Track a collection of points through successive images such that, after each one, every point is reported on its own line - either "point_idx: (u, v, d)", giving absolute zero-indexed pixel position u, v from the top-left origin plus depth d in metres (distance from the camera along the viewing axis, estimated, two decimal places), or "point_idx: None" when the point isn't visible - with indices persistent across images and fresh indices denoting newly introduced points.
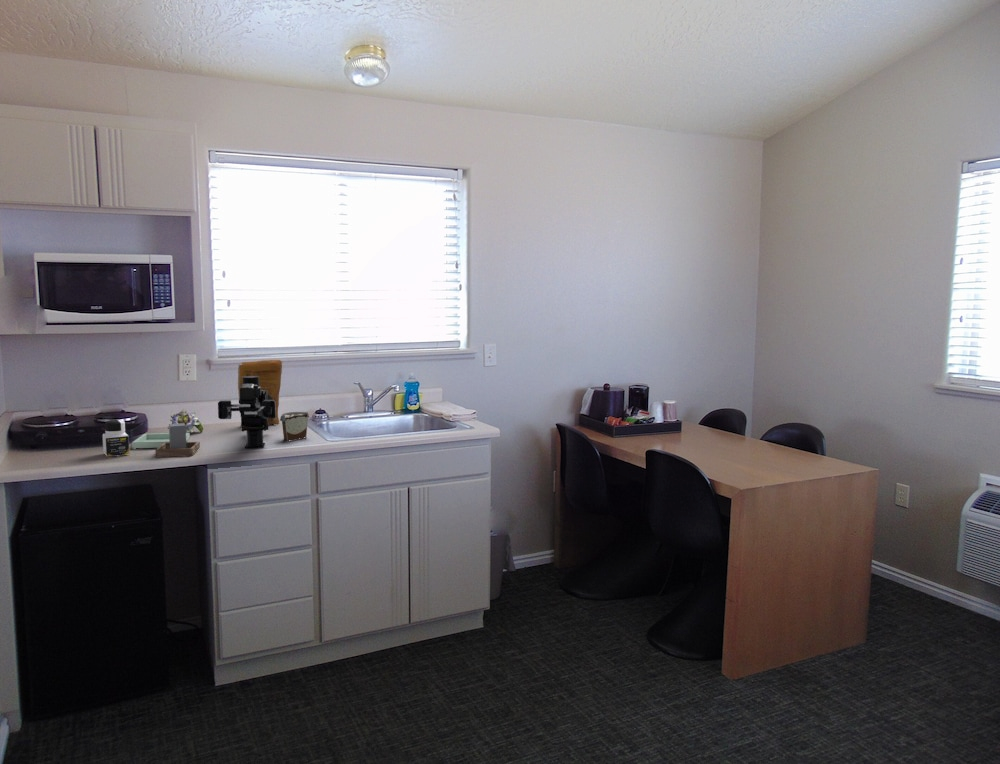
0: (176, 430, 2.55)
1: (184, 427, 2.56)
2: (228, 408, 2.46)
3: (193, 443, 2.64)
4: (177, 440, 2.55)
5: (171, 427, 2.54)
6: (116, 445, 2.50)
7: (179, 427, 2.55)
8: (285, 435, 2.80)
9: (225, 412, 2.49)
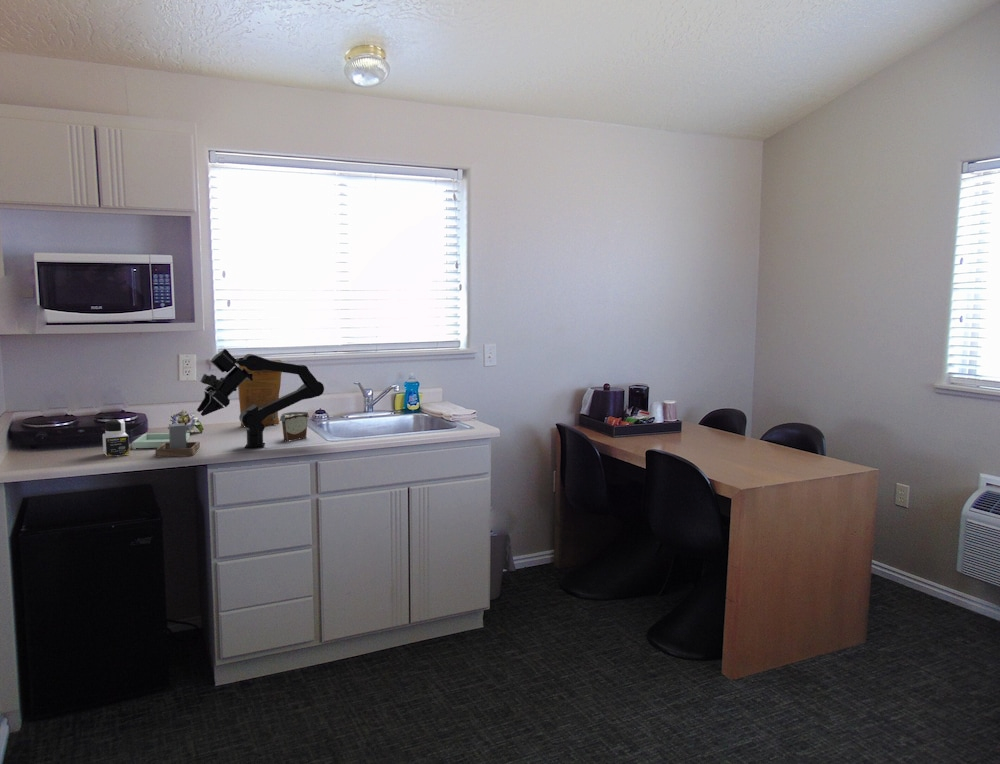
0: (176, 430, 2.55)
1: (184, 427, 2.56)
2: (202, 401, 2.64)
3: (193, 443, 2.64)
4: (177, 440, 2.55)
5: (171, 427, 2.54)
6: (116, 445, 2.50)
7: (179, 427, 2.55)
8: (285, 435, 2.80)
9: None
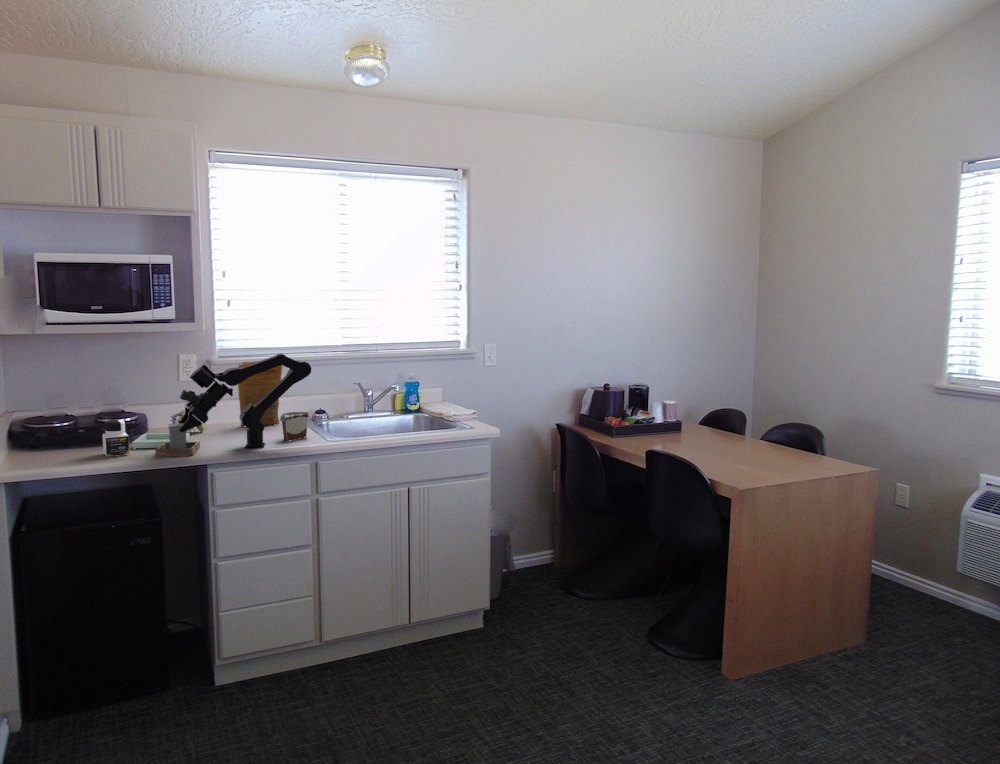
0: (176, 430, 2.55)
1: None
2: (182, 417, 2.62)
3: (193, 443, 2.64)
4: (177, 440, 2.55)
5: (171, 427, 2.54)
6: (116, 445, 2.50)
7: (179, 427, 2.55)
8: (285, 435, 2.80)
9: None
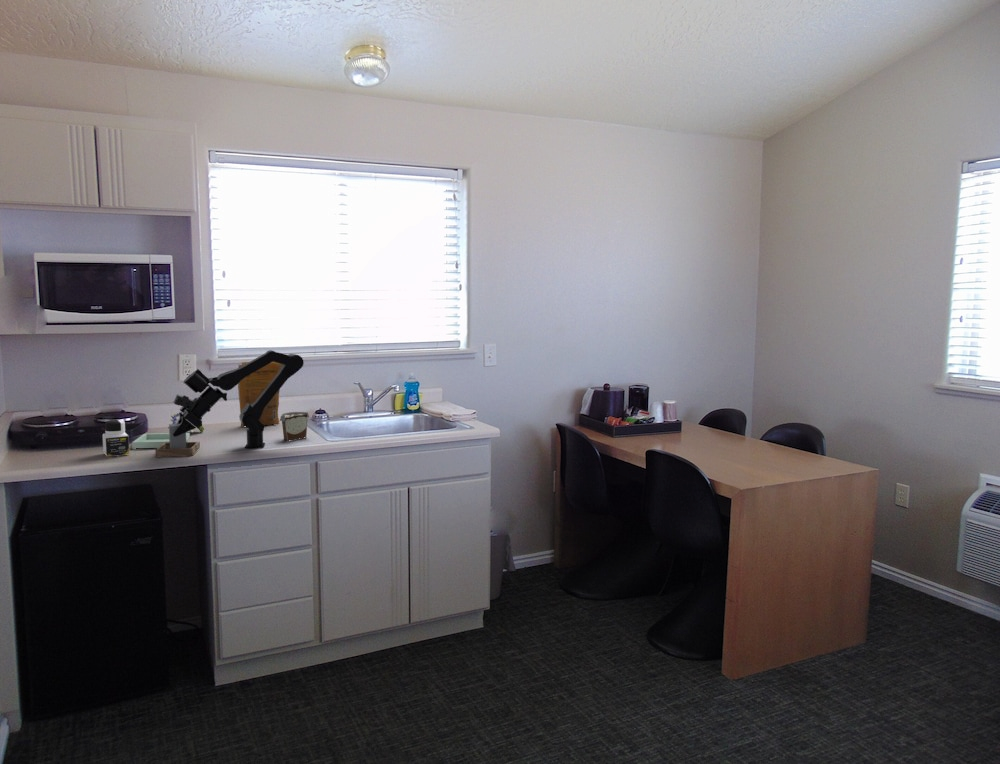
0: None
1: None
2: (177, 423, 2.60)
3: (193, 443, 2.64)
4: (177, 440, 2.55)
5: (171, 427, 2.54)
6: (116, 445, 2.50)
7: None
8: (285, 435, 2.80)
9: None
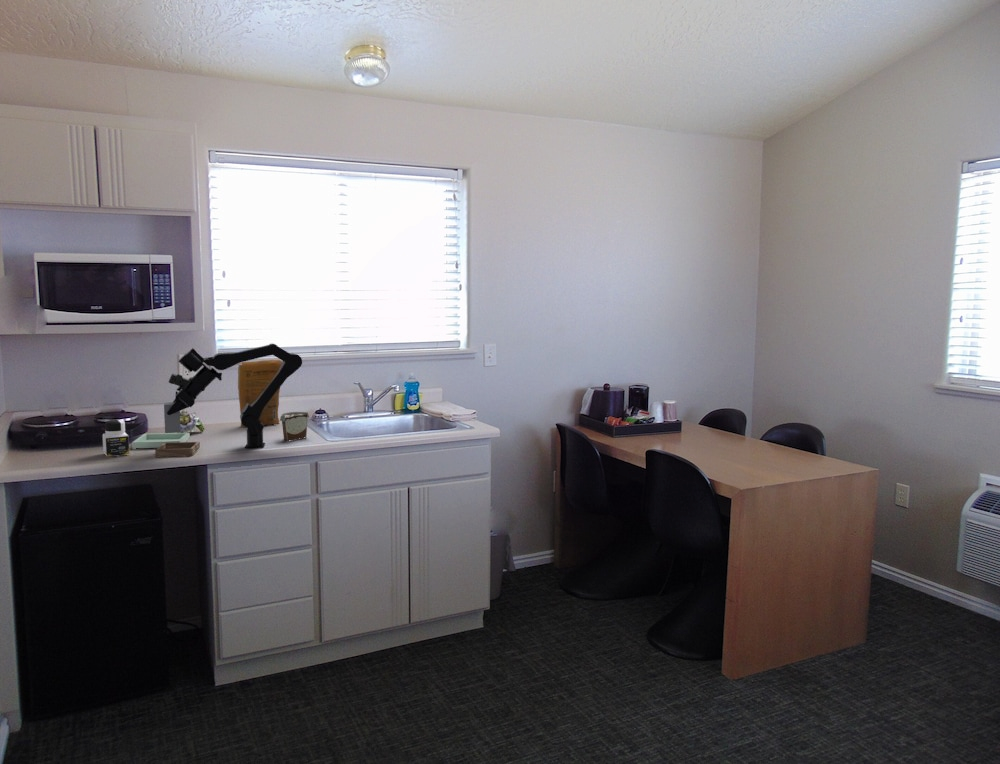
0: None
1: None
2: None
3: (193, 443, 2.64)
4: (171, 419, 2.56)
5: (165, 405, 2.54)
6: (116, 445, 2.50)
7: None
8: (285, 435, 2.80)
9: None
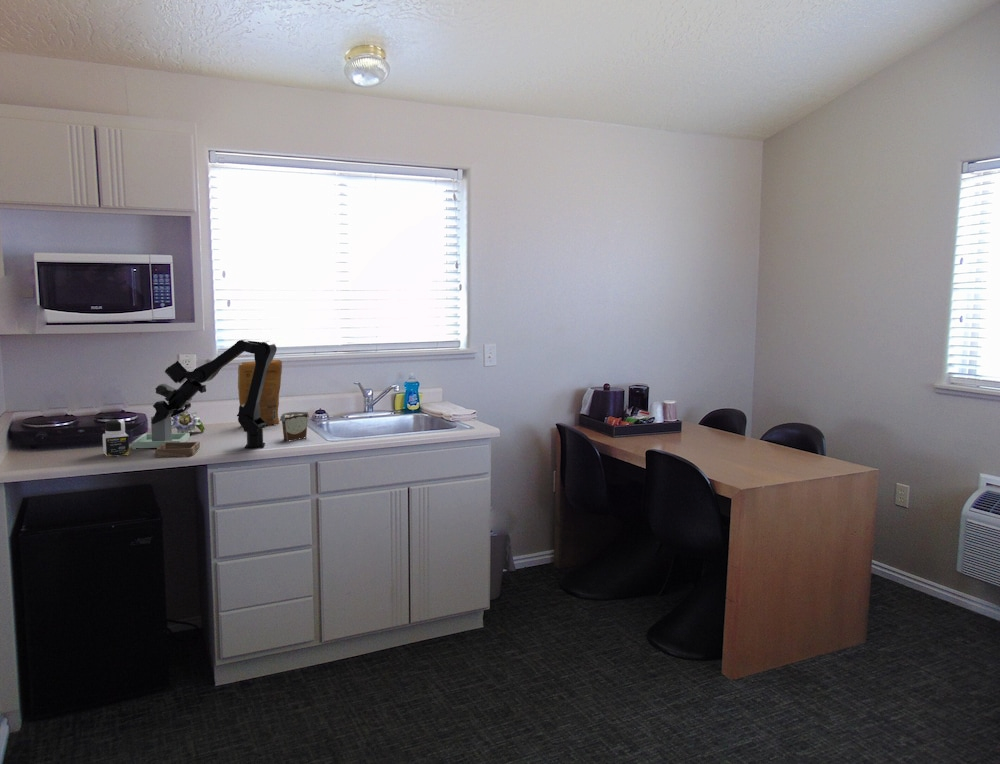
0: None
1: None
2: None
3: (193, 443, 2.64)
4: (157, 430, 2.68)
5: (152, 418, 2.68)
6: (116, 445, 2.50)
7: None
8: (285, 435, 2.80)
9: None
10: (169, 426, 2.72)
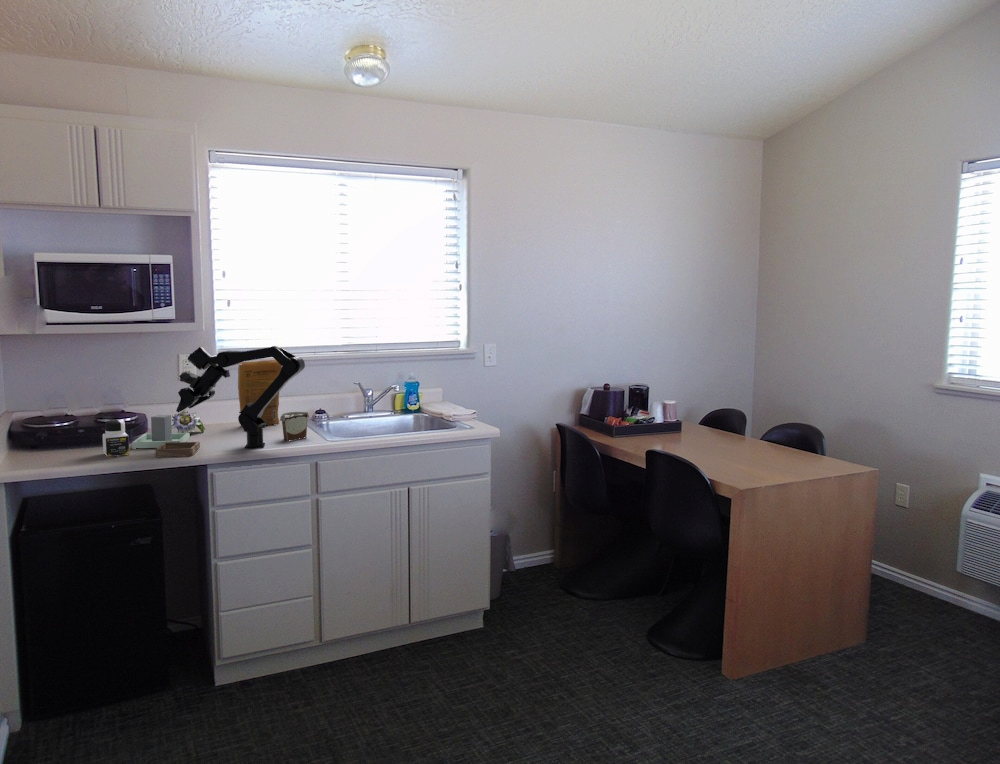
0: (156, 421, 2.68)
1: (163, 419, 2.68)
2: None
3: (193, 443, 2.64)
4: (157, 430, 2.68)
5: (152, 418, 2.68)
6: (116, 445, 2.50)
7: (159, 418, 2.68)
8: (285, 435, 2.80)
9: None
10: (169, 426, 2.72)
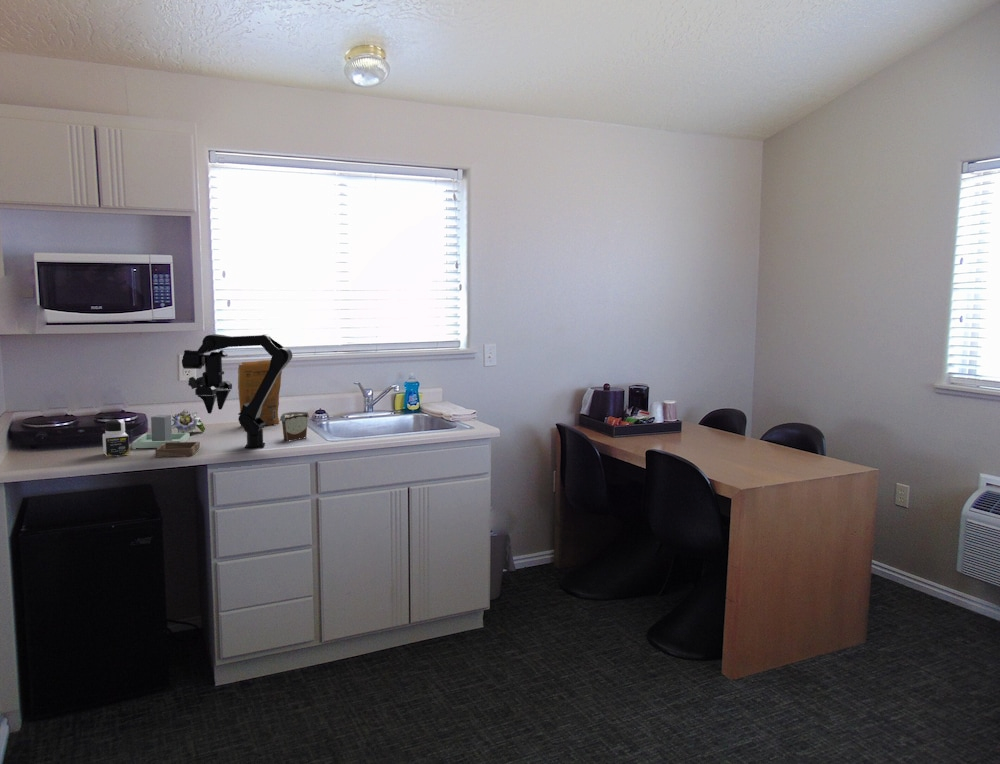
0: (156, 421, 2.68)
1: (163, 419, 2.68)
2: None
3: (193, 443, 2.64)
4: (157, 430, 2.68)
5: (152, 418, 2.68)
6: (116, 445, 2.50)
7: (159, 418, 2.68)
8: (285, 435, 2.80)
9: None
10: (169, 426, 2.72)
